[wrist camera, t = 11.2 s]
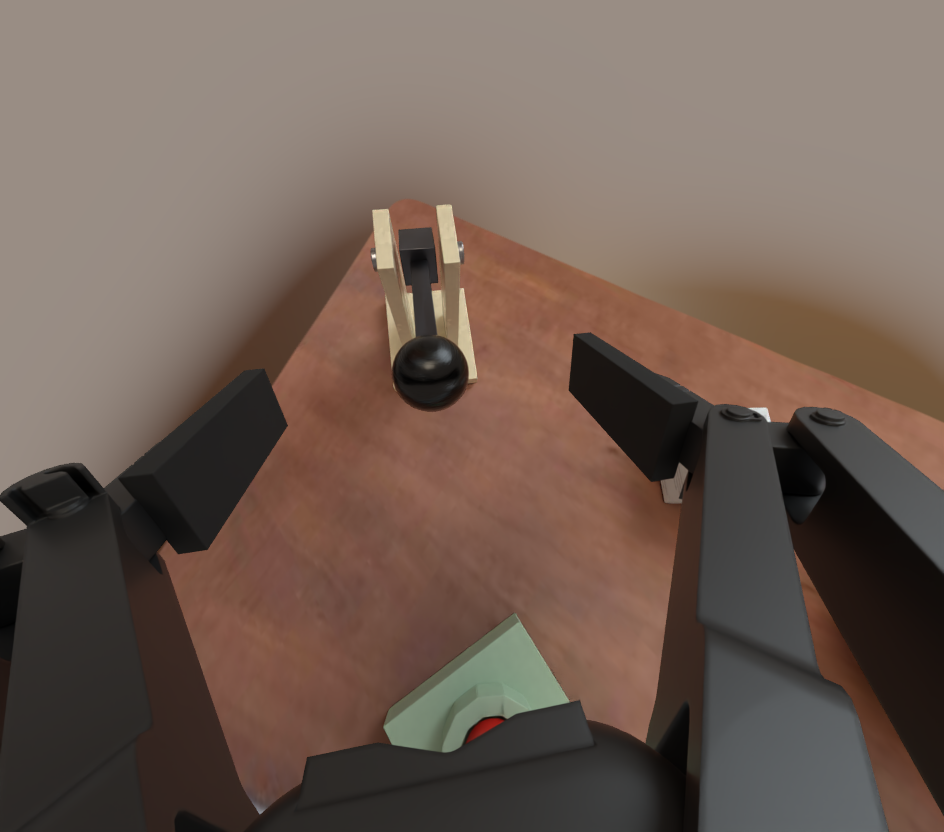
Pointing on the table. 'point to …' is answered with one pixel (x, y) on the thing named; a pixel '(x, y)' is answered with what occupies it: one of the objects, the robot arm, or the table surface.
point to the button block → (475, 691)
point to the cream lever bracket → (445, 301)
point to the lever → (426, 335)
